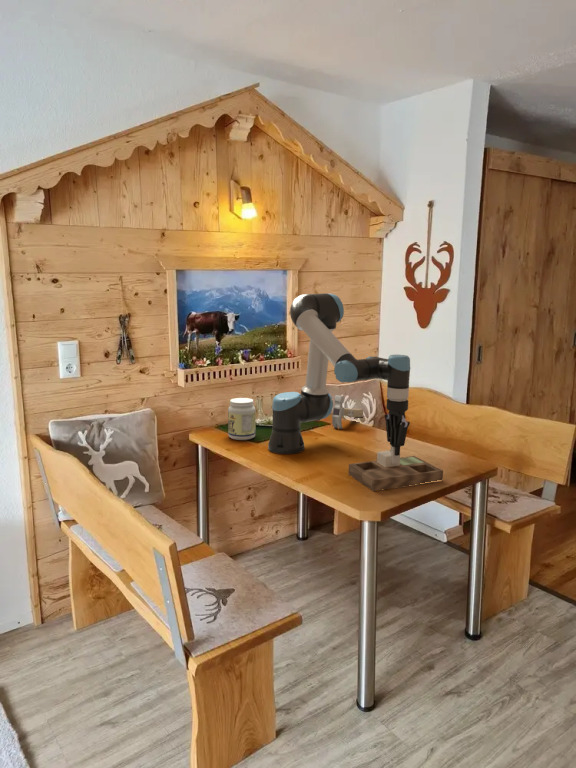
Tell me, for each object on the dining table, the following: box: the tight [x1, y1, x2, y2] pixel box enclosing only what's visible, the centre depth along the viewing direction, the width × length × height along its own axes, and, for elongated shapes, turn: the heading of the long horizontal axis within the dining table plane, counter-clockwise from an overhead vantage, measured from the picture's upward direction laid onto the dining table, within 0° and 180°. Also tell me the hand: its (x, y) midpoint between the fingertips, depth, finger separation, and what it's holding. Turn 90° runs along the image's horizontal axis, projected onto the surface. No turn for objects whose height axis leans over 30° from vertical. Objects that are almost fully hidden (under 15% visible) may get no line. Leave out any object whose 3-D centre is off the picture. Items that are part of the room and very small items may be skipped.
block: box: [376, 449, 401, 467], centre depth 208 cm, size 6×6×4 cm
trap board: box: [348, 455, 444, 492], centre depth 205 cm, size 28×18×4 cm, turn 112°
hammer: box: [331, 394, 364, 430], centre depth 280 cm, size 16×5×30 cm
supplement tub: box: [227, 397, 256, 441], centre depth 255 cm, size 12×12×17 cm
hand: (394, 463), depth 205 cm, fingers closed
